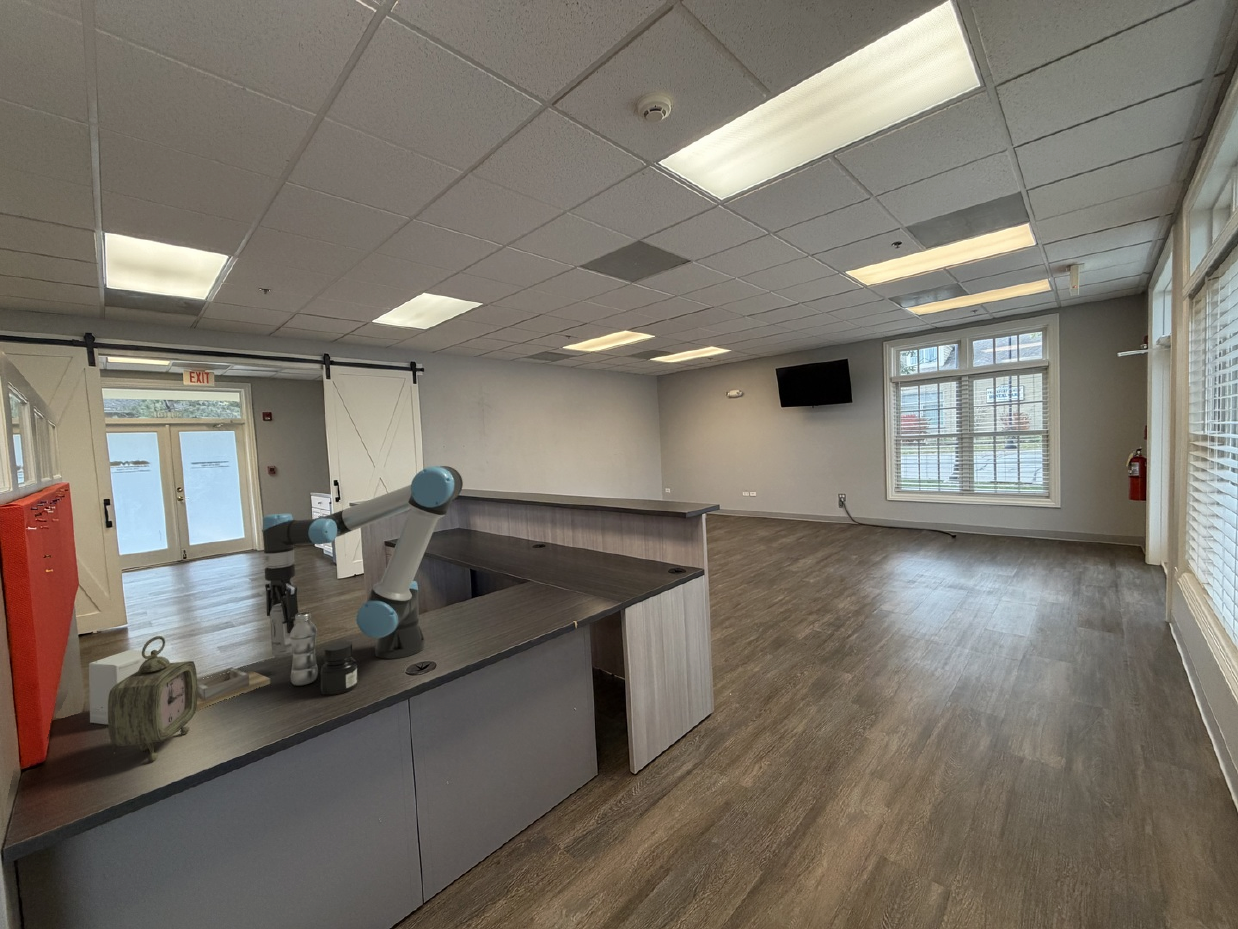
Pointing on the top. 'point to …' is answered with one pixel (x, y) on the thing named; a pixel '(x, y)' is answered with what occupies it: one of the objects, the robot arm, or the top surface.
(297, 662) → the plastic bottle
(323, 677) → the ink bottle
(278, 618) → the energy drink can
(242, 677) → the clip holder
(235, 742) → the top surface
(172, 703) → the tabletop clock
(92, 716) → the supplement box
